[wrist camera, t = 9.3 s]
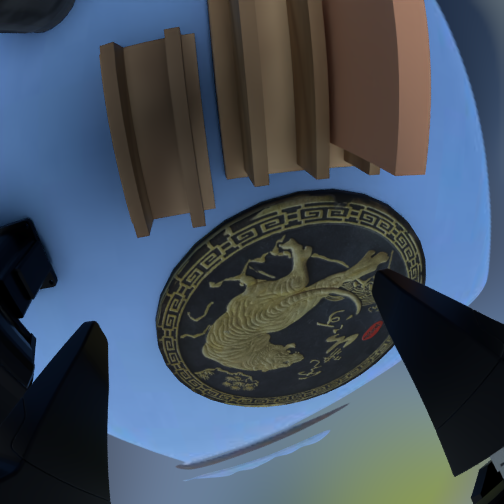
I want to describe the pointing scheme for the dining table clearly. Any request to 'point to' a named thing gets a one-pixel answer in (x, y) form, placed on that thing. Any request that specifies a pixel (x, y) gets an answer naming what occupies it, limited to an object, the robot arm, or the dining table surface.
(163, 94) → the holder
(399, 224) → the decorative plate
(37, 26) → the beverage cup
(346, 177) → the dining table surface
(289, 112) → the rack
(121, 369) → the dining table surface
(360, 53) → the wooden block
